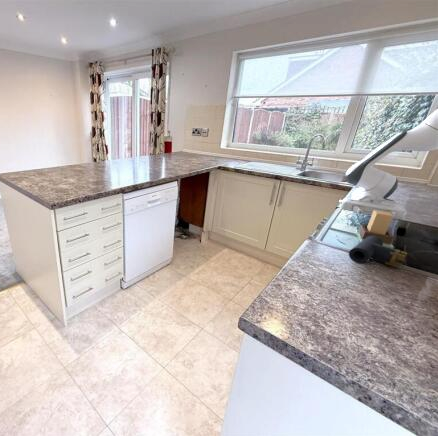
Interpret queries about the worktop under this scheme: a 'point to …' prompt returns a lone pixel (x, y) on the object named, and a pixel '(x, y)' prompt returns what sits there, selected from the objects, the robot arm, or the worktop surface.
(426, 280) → the worktop surface
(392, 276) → the worktop surface
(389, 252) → the pipe connector
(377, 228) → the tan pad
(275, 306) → the worktop surface
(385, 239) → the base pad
